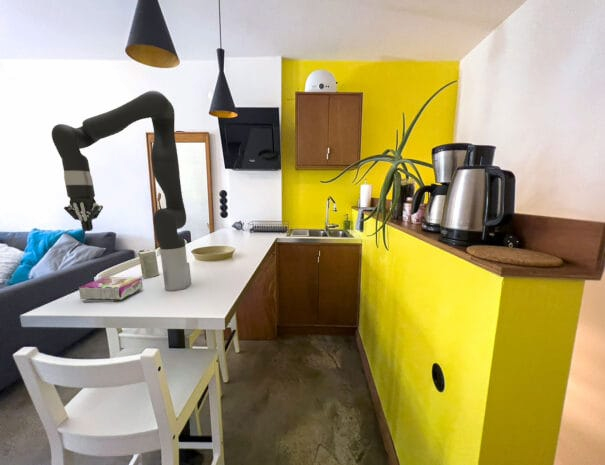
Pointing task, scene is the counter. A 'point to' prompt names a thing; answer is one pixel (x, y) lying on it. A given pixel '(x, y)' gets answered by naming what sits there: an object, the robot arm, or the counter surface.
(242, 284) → the counter surface
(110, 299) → the felt pad
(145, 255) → the skincare box
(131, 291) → the candy bar box
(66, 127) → the robot arm
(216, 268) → the counter surface
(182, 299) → the counter surface
